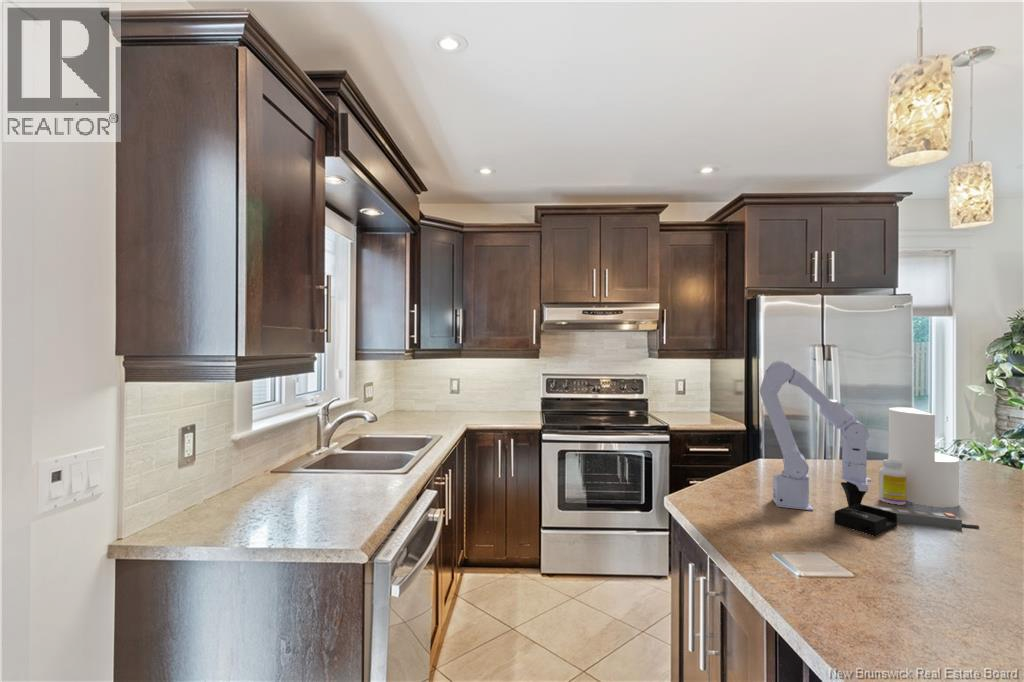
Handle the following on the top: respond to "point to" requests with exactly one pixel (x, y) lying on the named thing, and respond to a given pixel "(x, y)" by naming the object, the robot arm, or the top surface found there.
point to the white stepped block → (922, 459)
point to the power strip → (927, 518)
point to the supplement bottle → (892, 482)
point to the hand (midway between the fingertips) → (853, 509)
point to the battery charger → (866, 519)
